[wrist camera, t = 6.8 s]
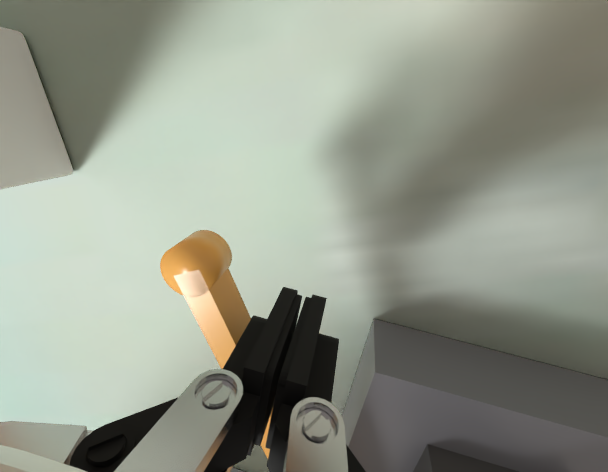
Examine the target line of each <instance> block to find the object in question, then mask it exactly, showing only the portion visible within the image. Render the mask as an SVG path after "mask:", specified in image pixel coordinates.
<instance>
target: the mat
mask: <svg viewBox="0 0 608 472" xmlns="http://www.w3.org/2000/svg"><path fill="white" fill-rule="evenodd" d="M231 472H244V471H241V470H238V469H235V468H232V470H231Z"/></svg>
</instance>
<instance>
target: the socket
mask: <svg viewBox="0 0 608 472" xmlns="http://www.w3.org/2000/svg"><path fill="white" fill-rule="evenodd" d="M342 417H343V421H344V425H345V437H346V444H347V446H348V447H349V449H350V450H351V451H352V453H353V454H354V456H355V457H356V459H357V460H358V461H359V463H360V464H361V466H362V467H363V468H364V470H365V471H366V472H413V471H414V469H415V467H416V465H417V463H418V461H419V459H420V457H421V455H422V453H423V451H424V450H425V448H426V446H427V444H429V445H432V446H436V447H439V448H442V449H446V450H449V451H452V452H456V453H459V454H462V455H465V456H469V457H472V458H475V459H479V460H482V461H485V462H489V463H492V464H495V465H499V466H502V467H505V468H509V469H512V470H515V471H519V472H608V380H606V379H603V378H599V377H595V376H591V375H587V374H583V373H580V372H576V371H572V370H568V369H564V368H560V367H557V366H553V365H549V364H545V363H541V362H538V361H534V360H530V359H526V358H522V357H518V356H515V355H511V354H507V353H503V352H499V351H495V350H492V349H488V348H484V347H480V346H476V345H472V344H469V343H465V342H461V341H457V340H453V339H450V338H446V337H442V336H438V335H434V334H430V333H427V332H423V331H419V330H415V329H411V328H407V327H404V326H400V325H396V324H392V323H388V322H385V321H381V320H377V319H373V322H372V325H371V328H370V331H369V334H368V337H367V340H366V343H365V346H364V349H363V353H362V356H361V359H360V362H359V365H358V368H357V371H356V374H355V377H354V380H353V383H352V386H351V389H350V392H349V395H348V398H347V402H346V405H345V408H344V411H343V414H342Z"/></svg>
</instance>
